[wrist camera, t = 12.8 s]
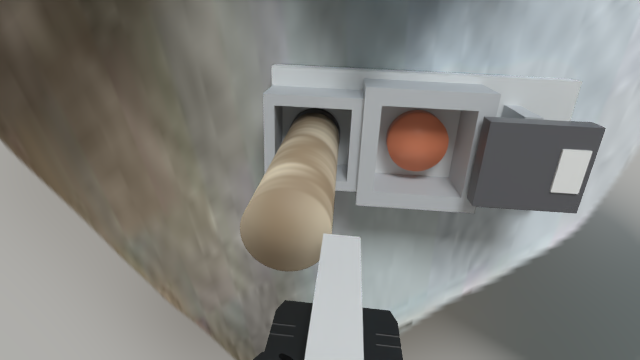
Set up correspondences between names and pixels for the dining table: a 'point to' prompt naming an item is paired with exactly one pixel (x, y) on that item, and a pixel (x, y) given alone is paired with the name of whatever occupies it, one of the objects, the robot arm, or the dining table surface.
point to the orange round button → (417, 140)
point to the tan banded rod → (295, 195)
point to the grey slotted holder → (395, 99)
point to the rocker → (533, 164)
